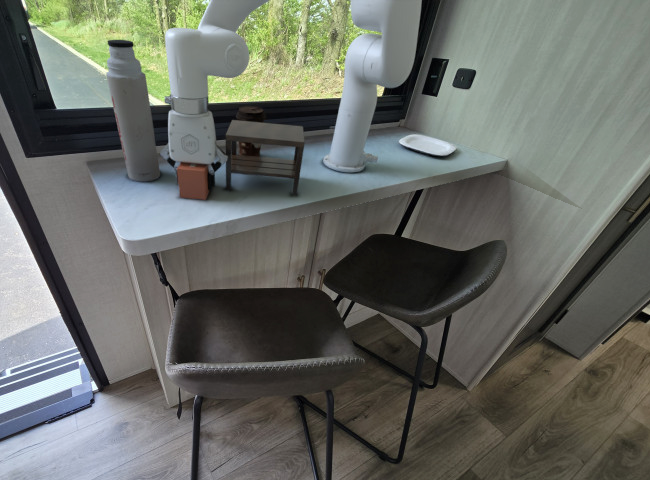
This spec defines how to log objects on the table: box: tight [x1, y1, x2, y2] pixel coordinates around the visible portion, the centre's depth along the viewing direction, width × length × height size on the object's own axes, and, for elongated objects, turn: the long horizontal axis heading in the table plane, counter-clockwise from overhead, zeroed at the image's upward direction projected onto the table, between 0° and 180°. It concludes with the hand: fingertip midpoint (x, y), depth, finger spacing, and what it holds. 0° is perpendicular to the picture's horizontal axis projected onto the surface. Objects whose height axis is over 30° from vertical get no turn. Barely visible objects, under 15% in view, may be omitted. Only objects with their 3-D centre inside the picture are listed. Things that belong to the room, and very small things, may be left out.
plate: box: [398, 133, 458, 157], centre depth 116 cm, size 18×18×2 cm
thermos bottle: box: [105, 39, 161, 182], centre depth 75 cm, size 8×8×28 cm
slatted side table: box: [225, 119, 306, 197], centre depth 82 cm, size 18×12×13 cm, turn 87°
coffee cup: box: [235, 105, 267, 157], centre depth 95 cm, size 9×8×13 cm
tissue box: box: [177, 162, 211, 201], centre depth 78 cm, size 6×9×7 cm
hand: (196, 186), depth 80 cm, fingers closed on tissue box, 6 cm apart
